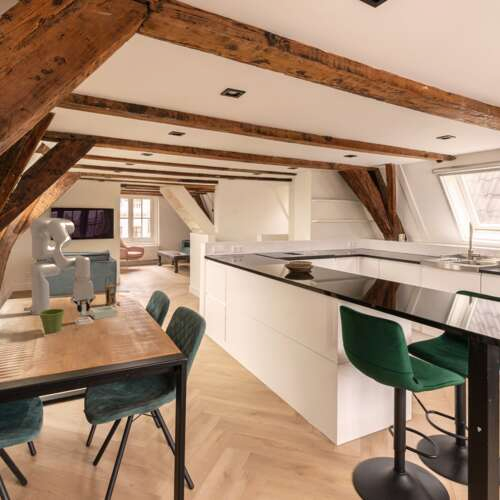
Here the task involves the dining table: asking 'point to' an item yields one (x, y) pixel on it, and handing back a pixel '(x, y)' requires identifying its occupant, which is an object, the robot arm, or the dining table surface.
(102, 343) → the dining table surface
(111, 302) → the multimeter
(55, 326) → the plant pot
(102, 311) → the white open box
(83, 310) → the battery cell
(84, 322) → the checker cradle
